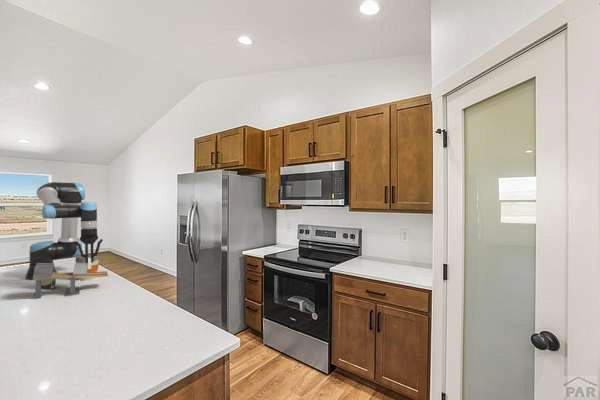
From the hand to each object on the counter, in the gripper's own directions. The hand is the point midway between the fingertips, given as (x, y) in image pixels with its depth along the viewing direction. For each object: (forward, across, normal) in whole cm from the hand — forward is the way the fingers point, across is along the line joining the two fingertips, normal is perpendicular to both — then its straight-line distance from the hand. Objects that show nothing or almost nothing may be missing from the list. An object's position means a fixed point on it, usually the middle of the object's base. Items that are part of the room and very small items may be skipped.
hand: (89, 268), depth 156 cm
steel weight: (+3, -4, 0) cm, 5 cm away
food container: (+12, -18, +18) cm, 29 cm away
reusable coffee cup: (+12, 0, +28) cm, 31 cm away
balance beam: (+3, -8, 0) cm, 8 cm away
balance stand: (+12, -14, 0) cm, 18 cm away
